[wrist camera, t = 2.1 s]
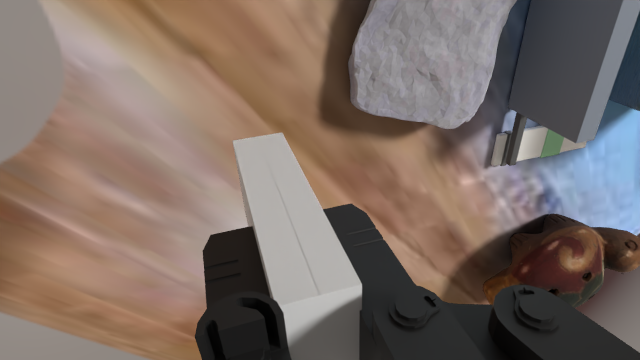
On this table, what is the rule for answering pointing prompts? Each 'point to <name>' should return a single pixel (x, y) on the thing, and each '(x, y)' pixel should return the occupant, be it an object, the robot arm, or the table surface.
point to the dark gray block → (629, 73)
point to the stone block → (426, 58)
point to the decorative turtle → (566, 259)
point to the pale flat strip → (533, 145)
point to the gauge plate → (569, 66)
